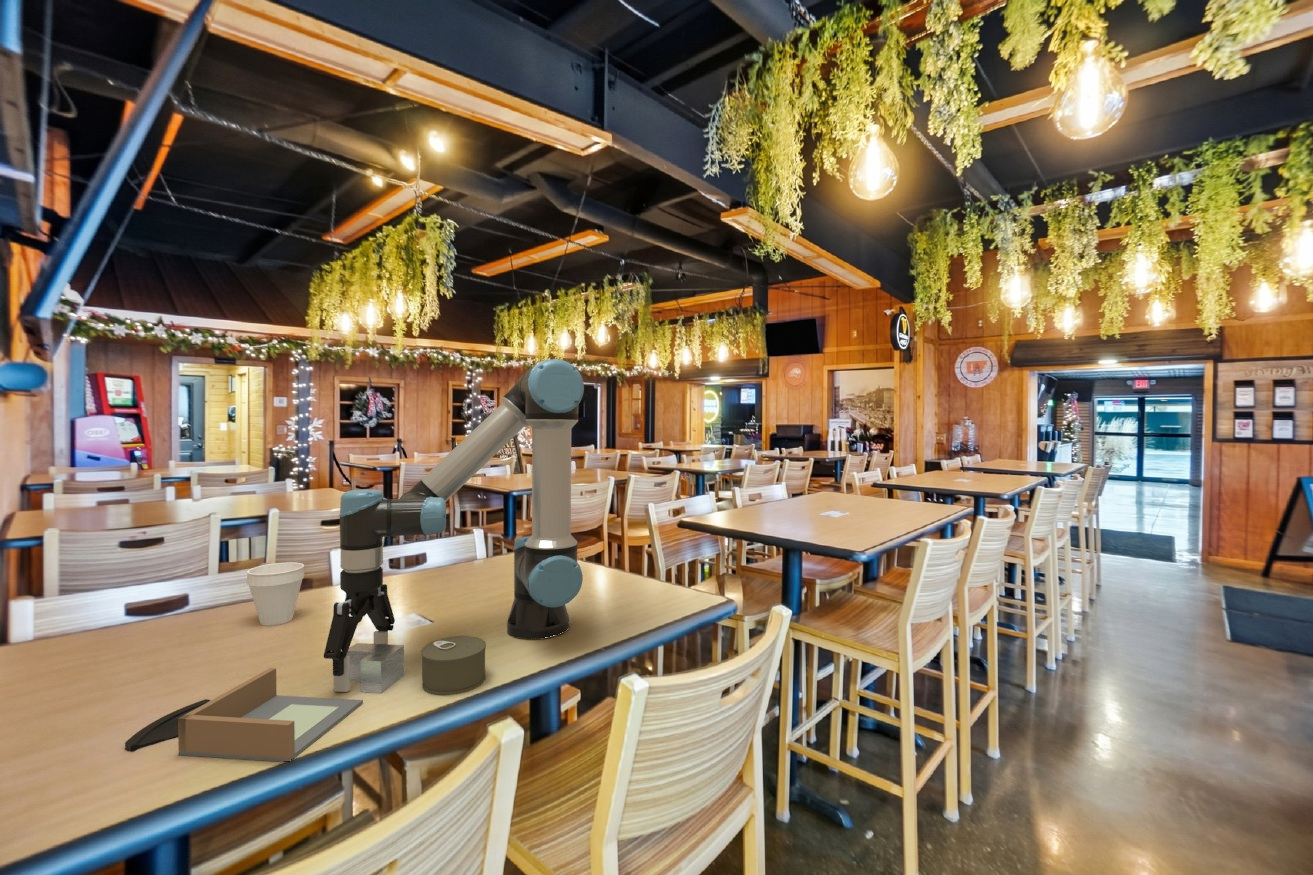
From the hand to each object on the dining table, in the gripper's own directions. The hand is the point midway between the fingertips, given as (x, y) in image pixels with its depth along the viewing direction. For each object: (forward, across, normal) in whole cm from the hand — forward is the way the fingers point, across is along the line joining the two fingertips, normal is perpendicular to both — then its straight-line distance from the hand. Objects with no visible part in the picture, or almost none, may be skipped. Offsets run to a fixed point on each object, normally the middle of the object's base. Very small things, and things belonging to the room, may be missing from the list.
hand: (362, 676), depth 113 cm
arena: (0, +19, -2) cm, 19 cm away
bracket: (0, +2, +3) cm, 3 cm away
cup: (+1, -28, -41) cm, 50 cm away
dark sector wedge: (+1, +20, -19) cm, 28 cm away
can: (+1, 0, +19) cm, 19 cm away
